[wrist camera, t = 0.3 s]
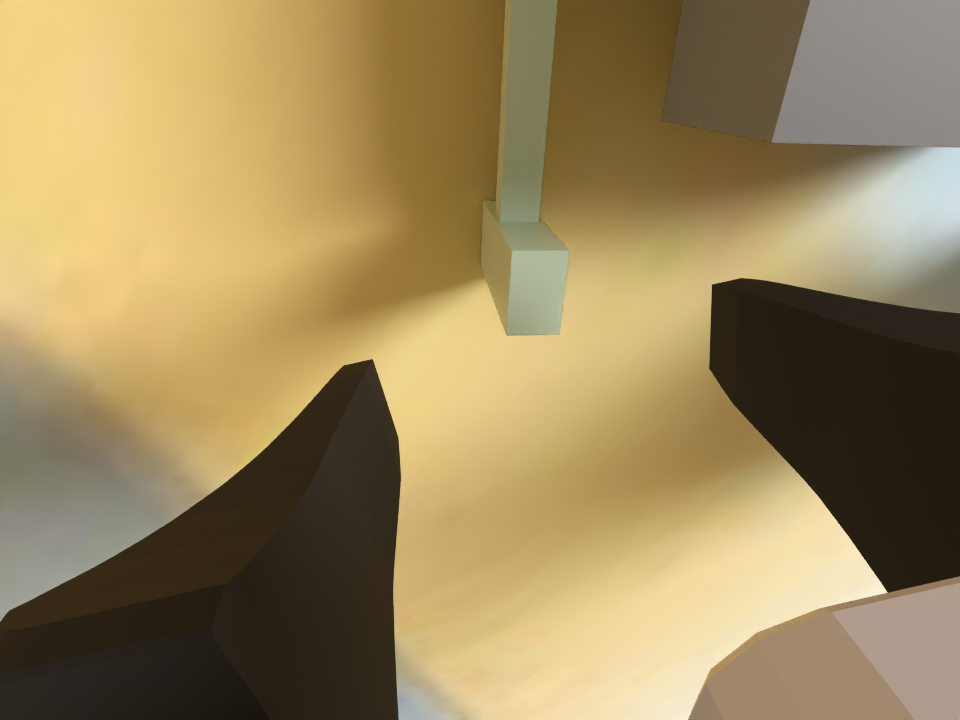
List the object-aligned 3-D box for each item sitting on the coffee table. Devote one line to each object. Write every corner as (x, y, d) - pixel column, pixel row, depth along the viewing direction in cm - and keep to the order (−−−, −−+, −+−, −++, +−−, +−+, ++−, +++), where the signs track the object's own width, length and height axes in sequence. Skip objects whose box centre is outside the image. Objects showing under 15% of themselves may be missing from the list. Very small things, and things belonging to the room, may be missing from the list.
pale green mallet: (601, -218, 14) (716, -387, 9) (552, 265, 20) (603, 333, 15) (450, -234, 14) (476, -424, 8) (447, 266, 20) (461, 336, 15)
